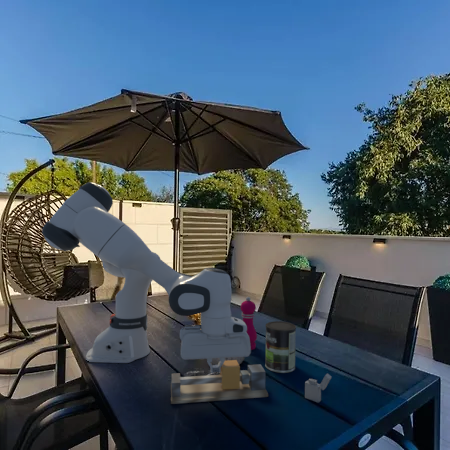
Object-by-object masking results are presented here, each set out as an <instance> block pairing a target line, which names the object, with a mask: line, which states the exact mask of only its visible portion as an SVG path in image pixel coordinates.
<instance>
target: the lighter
mask: <svg viewBox="0 0 450 450" xmlns="http://www.w3.org/2000/svg"><path fill="white" fill-rule="evenodd" d="M331 379H332V376H331V374H329V373H326V374H325V375H324V377H323V379H322V380H321V382H320V383H318V379H313V378H309V379H308V380H306V381H305V382H304V398H305V399H307V400H310V401H312V402H314V403H315V402H316V403H317V404H318V403H320V402H321V401H322V391H324V390H326V388H327V386H328V384H329V383H330V381H331Z"/></svg>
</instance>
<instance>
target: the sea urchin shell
mask: <svg viewBox="0 0 450 450" xmlns="http://www.w3.org/2000/svg"><path fill="white" fill-rule="evenodd" d="M245 359H246V357H229V358H225V361H226V360H237V362H238V364H239V366H240V364H242V363H243V362H244V361H245ZM219 361H220V360H219V358H212V362H211V363H212V365H218V363H219Z"/></svg>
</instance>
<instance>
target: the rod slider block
mask: <svg viewBox="0 0 450 450" xmlns="http://www.w3.org/2000/svg"><path fill="white" fill-rule="evenodd" d="M220 383H222V376H221V375H220V374H210V375H209V374H208V375H197V376H195V375H194V376H181V373H179V372H178V373H177V372H176V373H175V372H174V373H171V383H170V396H171V397H170V404H171V405H175V404H177V405H178V404H188V403H189V404H191V403H201V402H214V401H215V402H216V401H229V400H240V399H241V400H242V399H243V400H245V399H254V398H255V399H256V398H267V397H268V398H269V393H268V391H267V389H266V371H265V369H264V367H263V366H262V364H261V363H260V364H259V363H258V364H257V363H256V364H247V370H246V369H245V370H244V369H243V370H241V369H240V388H238V389H224V390H222V384H220Z"/></svg>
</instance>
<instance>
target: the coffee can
mask: <svg viewBox="0 0 450 450" xmlns="http://www.w3.org/2000/svg"><path fill="white" fill-rule="evenodd" d="M296 330H297V325H295V324H294V323H291V322H287V321H282V320H281V321H280V320H279V321H278V320H276V321H269V322H266V324H265V362H264V363H265V365H264V366H265V368H266V369H267V370H269V371H271V372H275V373H278V374H279V373H280V374H286V373H292V372H293V371H295V370H296Z"/></svg>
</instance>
